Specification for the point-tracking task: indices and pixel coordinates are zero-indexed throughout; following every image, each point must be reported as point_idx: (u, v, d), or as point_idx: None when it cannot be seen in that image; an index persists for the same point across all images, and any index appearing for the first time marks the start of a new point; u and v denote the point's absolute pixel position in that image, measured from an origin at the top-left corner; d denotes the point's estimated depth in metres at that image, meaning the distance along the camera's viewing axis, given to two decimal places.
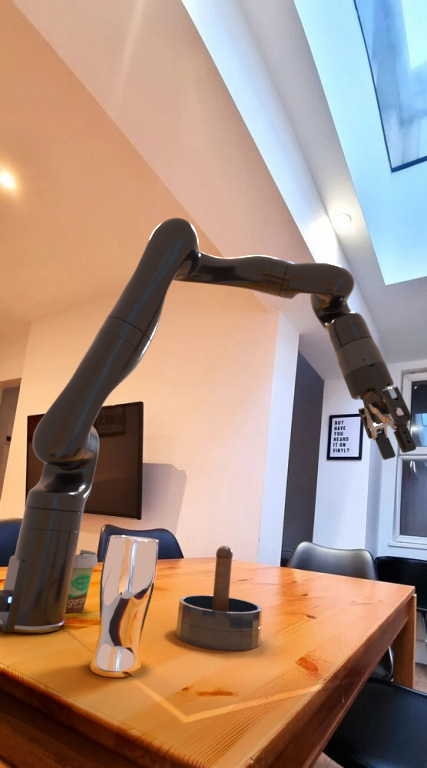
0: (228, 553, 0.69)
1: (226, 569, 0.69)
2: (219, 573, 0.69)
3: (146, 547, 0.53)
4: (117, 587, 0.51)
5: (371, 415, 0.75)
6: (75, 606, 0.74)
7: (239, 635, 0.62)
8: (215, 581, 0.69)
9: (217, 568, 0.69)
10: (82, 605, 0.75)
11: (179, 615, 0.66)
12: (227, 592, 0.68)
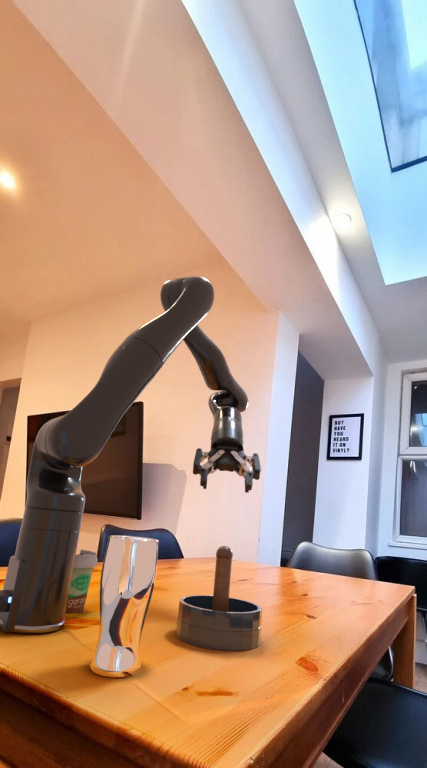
0: (228, 553, 0.69)
1: (226, 569, 0.69)
2: (219, 573, 0.69)
3: (146, 547, 0.53)
4: (117, 587, 0.51)
5: (221, 456, 0.91)
6: (75, 606, 0.74)
7: (239, 635, 0.62)
8: (215, 581, 0.69)
9: (217, 568, 0.69)
10: (82, 605, 0.75)
11: (179, 615, 0.66)
12: (227, 592, 0.68)
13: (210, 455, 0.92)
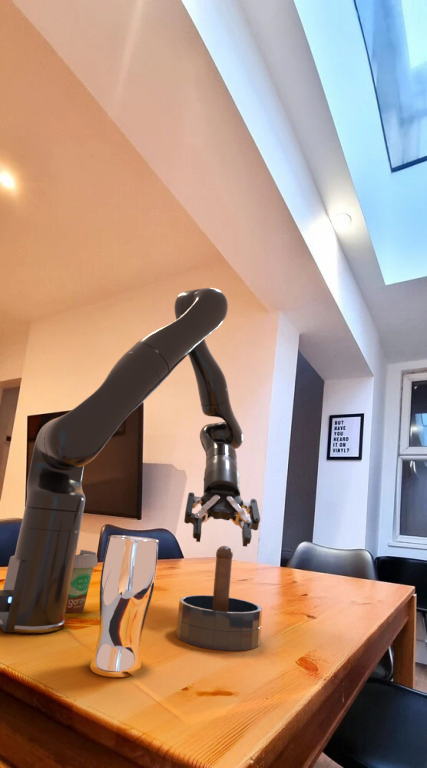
0: (228, 553, 0.69)
1: (226, 569, 0.69)
2: (219, 573, 0.69)
3: (146, 547, 0.53)
4: (117, 587, 0.51)
5: (215, 503, 0.82)
6: (75, 606, 0.74)
7: (239, 635, 0.62)
8: (215, 581, 0.69)
9: (217, 568, 0.69)
10: (82, 605, 0.75)
11: (179, 615, 0.66)
12: (227, 592, 0.68)
13: (204, 501, 0.83)
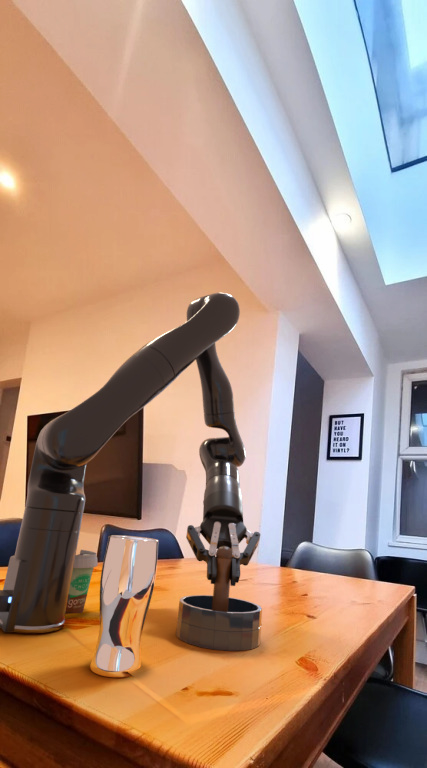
0: (228, 553, 0.69)
1: (226, 569, 0.69)
2: (219, 573, 0.69)
3: (146, 547, 0.53)
4: (117, 587, 0.51)
5: None
6: (75, 606, 0.74)
7: (239, 635, 0.62)
8: None
9: (217, 568, 0.69)
10: (82, 605, 0.75)
11: (179, 615, 0.66)
12: (227, 592, 0.68)
13: (203, 528, 0.75)
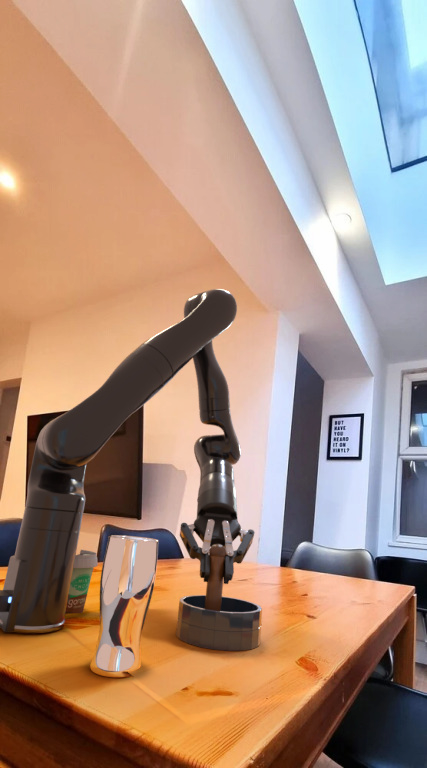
0: (222, 551, 0.69)
1: (219, 567, 0.68)
2: (212, 571, 0.68)
3: (146, 547, 0.53)
4: (117, 587, 0.51)
5: None
6: (75, 606, 0.74)
7: (239, 635, 0.62)
8: None
9: (210, 566, 0.68)
10: (82, 605, 0.75)
11: (179, 615, 0.66)
12: (220, 590, 0.67)
13: (197, 526, 0.75)
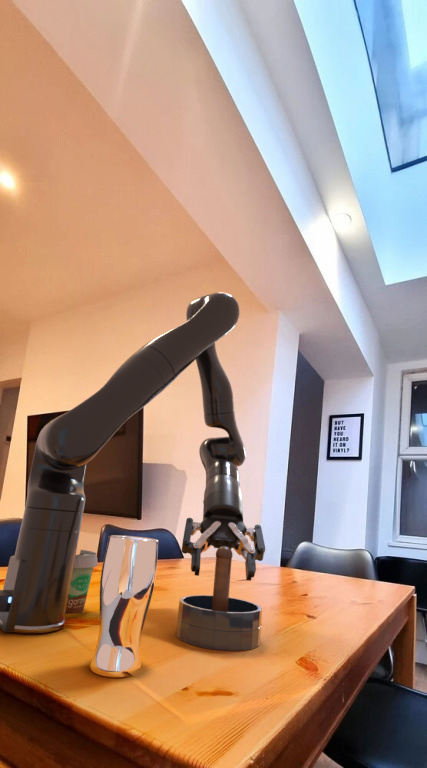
0: (228, 553, 0.69)
1: (226, 569, 0.69)
2: (219, 573, 0.69)
3: (146, 547, 0.53)
4: (117, 587, 0.51)
5: (216, 530, 0.75)
6: (75, 606, 0.74)
7: (239, 635, 0.62)
8: (215, 581, 0.69)
9: (217, 568, 0.69)
10: (82, 605, 0.75)
11: (179, 615, 0.66)
12: (227, 592, 0.68)
13: (203, 527, 0.76)
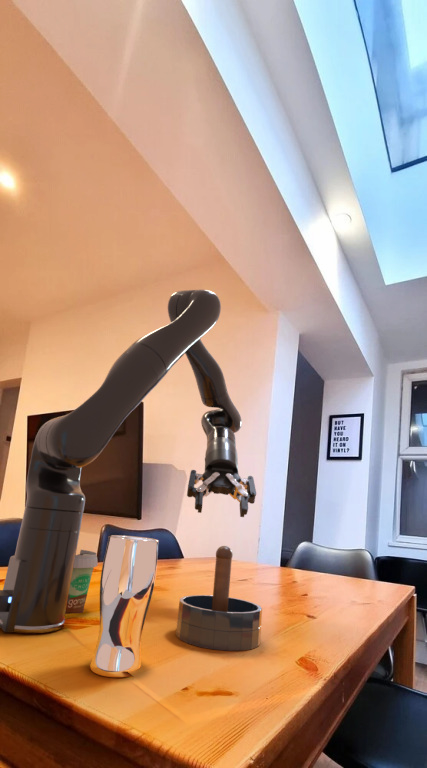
0: (228, 553, 0.69)
1: (226, 569, 0.69)
2: (219, 573, 0.69)
3: (146, 547, 0.53)
4: (117, 587, 0.51)
5: (215, 479, 0.90)
6: (75, 606, 0.74)
7: (239, 635, 0.62)
8: (215, 581, 0.69)
9: (217, 568, 0.69)
10: (82, 605, 0.75)
11: (179, 615, 0.66)
12: (227, 592, 0.68)
13: (205, 477, 0.91)
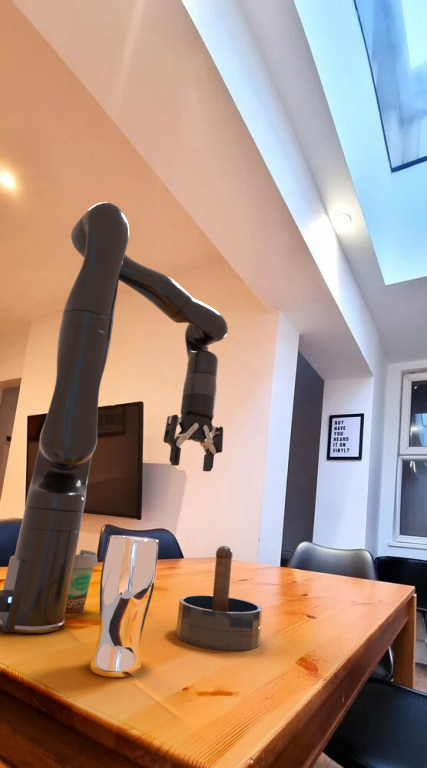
0: (228, 553, 0.69)
1: (226, 569, 0.69)
2: (219, 573, 0.69)
3: (146, 547, 0.53)
4: (117, 587, 0.51)
5: (193, 430, 0.92)
6: (75, 606, 0.74)
7: (239, 635, 0.62)
8: (215, 581, 0.69)
9: (217, 568, 0.69)
10: (82, 605, 0.75)
11: (179, 615, 0.66)
12: (227, 592, 0.68)
13: (184, 425, 0.91)
